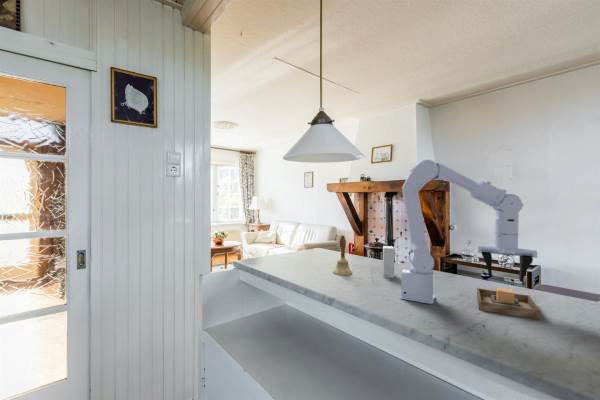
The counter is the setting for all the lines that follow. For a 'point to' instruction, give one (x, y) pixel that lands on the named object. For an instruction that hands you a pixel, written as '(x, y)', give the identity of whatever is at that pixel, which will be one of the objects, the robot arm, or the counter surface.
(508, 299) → the plug
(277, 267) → the counter surface
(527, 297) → the box
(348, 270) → the hand bell
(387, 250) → the skincare box
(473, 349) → the counter surface
